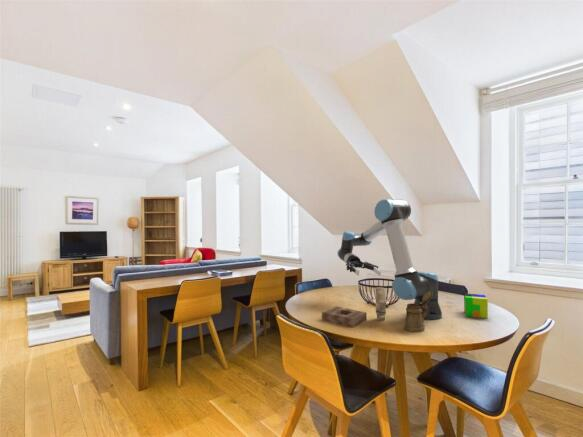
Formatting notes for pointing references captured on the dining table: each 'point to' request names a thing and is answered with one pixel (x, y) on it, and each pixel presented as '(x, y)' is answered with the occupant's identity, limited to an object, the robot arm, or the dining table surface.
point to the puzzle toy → (475, 305)
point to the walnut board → (344, 316)
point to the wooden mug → (417, 314)
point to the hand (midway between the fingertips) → (369, 273)
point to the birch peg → (380, 303)
